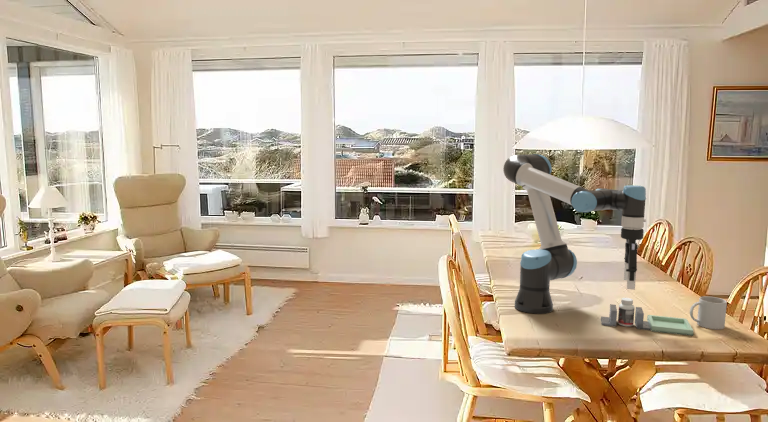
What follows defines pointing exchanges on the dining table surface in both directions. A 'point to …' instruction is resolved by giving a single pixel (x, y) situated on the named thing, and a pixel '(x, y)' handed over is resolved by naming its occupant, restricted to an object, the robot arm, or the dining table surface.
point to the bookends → (638, 318)
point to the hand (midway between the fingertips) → (629, 284)
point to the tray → (670, 325)
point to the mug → (710, 312)
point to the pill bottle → (626, 312)
